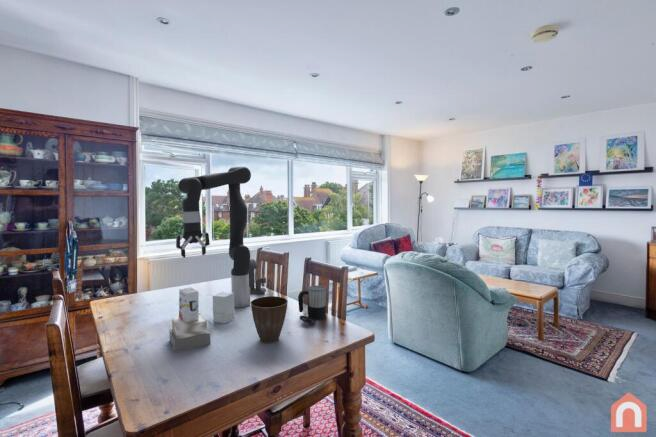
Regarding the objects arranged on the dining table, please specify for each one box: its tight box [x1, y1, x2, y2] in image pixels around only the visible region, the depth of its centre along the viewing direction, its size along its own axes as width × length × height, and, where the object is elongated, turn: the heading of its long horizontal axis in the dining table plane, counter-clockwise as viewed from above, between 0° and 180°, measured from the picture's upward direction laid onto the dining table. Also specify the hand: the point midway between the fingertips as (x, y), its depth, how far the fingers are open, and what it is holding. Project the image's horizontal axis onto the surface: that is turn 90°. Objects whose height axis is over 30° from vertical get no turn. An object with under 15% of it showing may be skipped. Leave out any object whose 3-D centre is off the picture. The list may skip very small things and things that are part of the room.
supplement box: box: [212, 291, 236, 324], centre depth 159 cm, size 7×7×13 cm
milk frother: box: [297, 285, 328, 326], centre depth 159 cm, size 14×16×15 cm
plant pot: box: [250, 295, 288, 344], centre depth 137 cm, size 15×15×16 cm
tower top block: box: [171, 312, 208, 340], centre depth 134 cm, size 11×11×5 cm
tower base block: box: [168, 328, 211, 353], centre depth 135 cm, size 13×13×5 cm
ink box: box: [178, 287, 200, 323], centre depth 134 cm, size 9×5×12 cm, turn 44°
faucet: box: [249, 258, 267, 295], centre depth 210 cm, size 18×16×20 cm
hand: (193, 256), depth 154 cm, fingers open, 8 cm apart
